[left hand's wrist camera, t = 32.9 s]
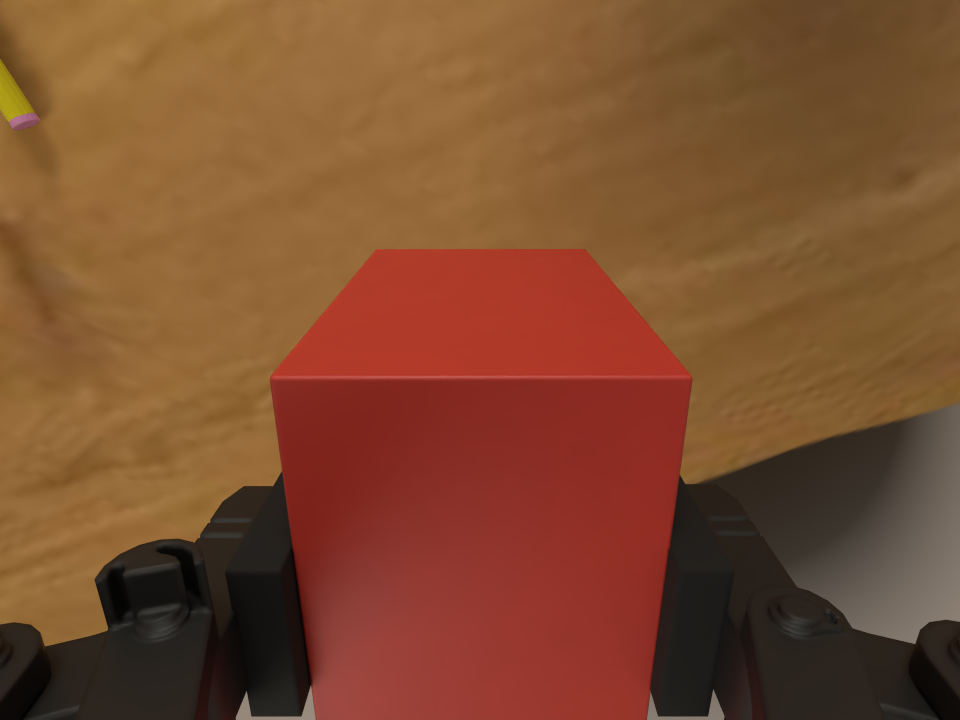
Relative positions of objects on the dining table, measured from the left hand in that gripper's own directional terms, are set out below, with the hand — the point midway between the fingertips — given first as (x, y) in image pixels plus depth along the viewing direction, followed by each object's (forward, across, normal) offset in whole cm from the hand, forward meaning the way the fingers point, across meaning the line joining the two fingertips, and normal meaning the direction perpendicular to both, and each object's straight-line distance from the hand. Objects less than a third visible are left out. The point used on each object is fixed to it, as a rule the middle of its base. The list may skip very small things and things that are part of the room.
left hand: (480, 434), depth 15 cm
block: (+3, 0, 0) cm, 3 cm away
